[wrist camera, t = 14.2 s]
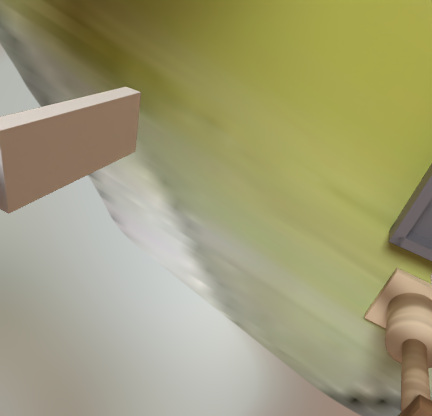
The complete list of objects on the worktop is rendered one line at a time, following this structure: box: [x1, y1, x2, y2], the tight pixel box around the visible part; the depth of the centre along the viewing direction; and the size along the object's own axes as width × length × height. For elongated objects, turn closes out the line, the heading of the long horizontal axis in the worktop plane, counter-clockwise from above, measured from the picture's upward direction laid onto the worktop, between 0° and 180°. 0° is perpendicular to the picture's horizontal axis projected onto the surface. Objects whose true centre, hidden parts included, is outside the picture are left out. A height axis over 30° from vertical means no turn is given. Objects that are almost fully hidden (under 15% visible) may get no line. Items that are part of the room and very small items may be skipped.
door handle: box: [365, 268, 432, 416], centre depth 32 cm, size 7×7×14 cm
